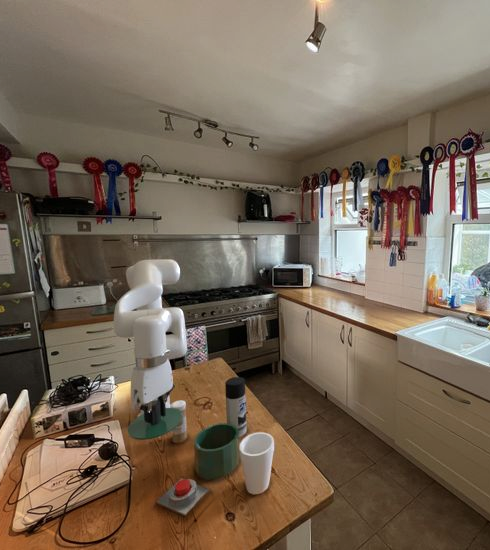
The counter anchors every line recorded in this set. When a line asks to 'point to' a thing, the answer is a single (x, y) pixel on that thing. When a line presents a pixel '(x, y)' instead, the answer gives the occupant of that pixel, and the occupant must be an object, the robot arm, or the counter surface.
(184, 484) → the button
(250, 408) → the counter surface
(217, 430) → the green pot
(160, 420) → the pot lid
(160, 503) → the grey mounting plate
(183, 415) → the sprinkles bottle
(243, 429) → the spray can
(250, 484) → the foam cup
